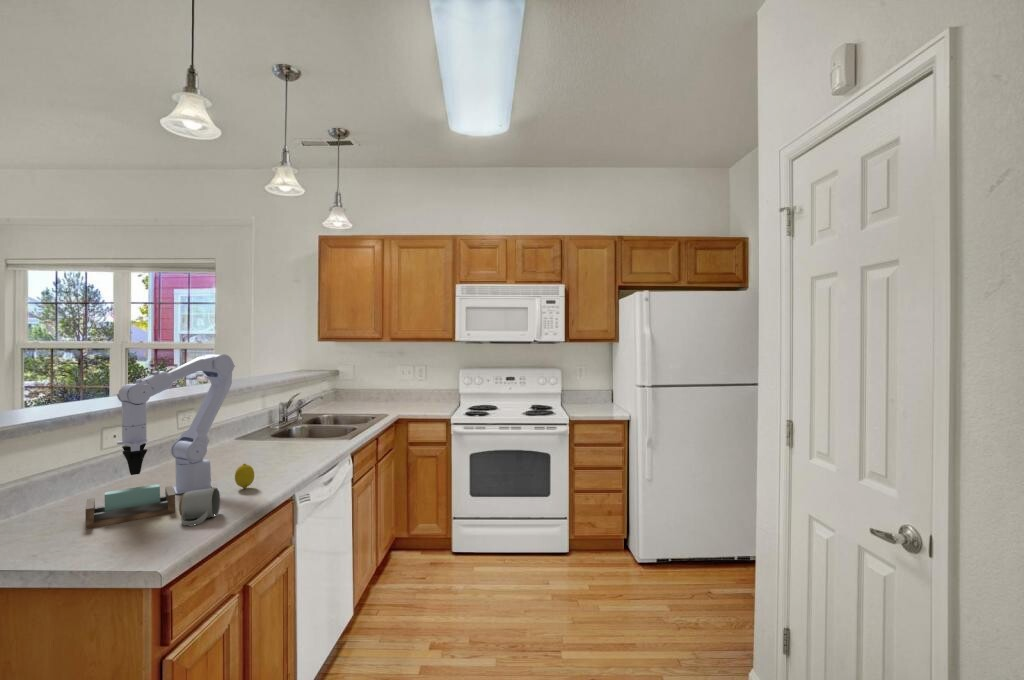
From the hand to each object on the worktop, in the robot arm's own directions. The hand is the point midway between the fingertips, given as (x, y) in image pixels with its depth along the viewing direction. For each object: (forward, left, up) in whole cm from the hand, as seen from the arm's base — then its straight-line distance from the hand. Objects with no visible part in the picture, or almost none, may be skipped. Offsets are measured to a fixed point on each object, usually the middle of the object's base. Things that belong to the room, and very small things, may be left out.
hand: (134, 471), depth 147 cm
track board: (+1, +11, -9) cm, 15 cm away
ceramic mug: (-13, +26, -10) cm, 31 cm away
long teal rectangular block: (+1, +11, -8) cm, 14 cm away
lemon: (-28, +4, -10) cm, 30 cm away
